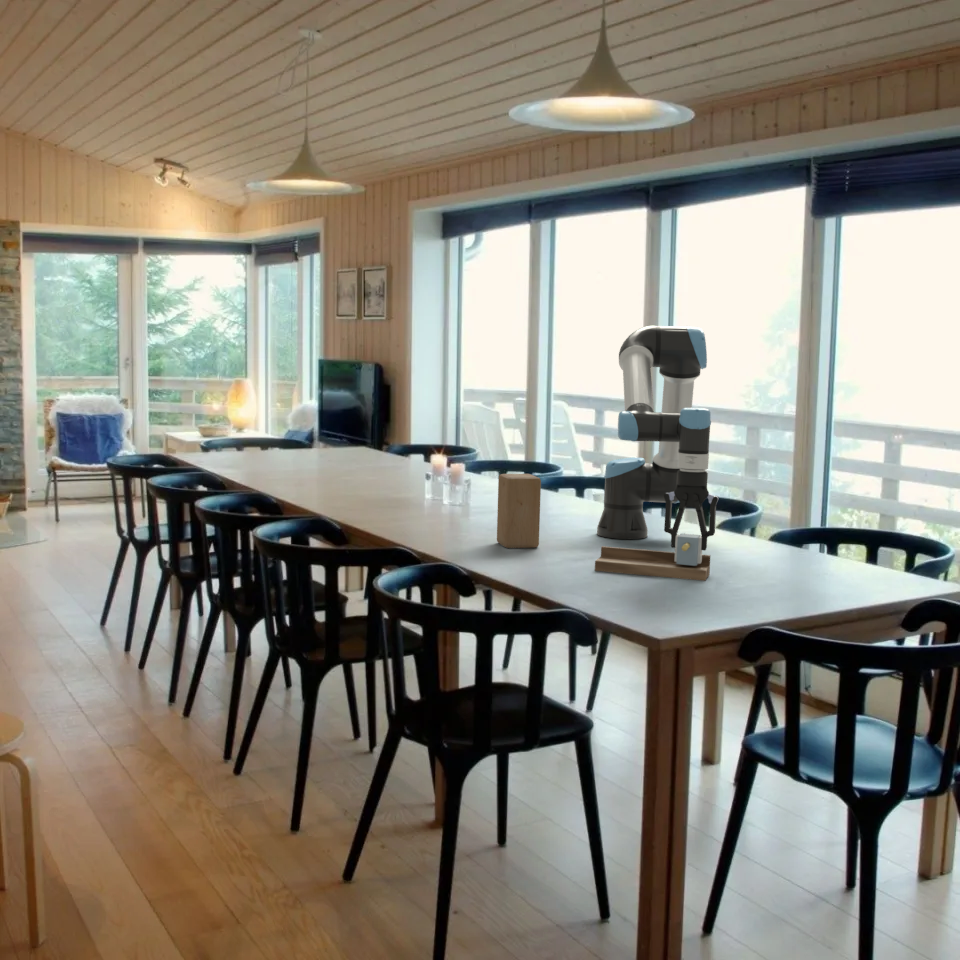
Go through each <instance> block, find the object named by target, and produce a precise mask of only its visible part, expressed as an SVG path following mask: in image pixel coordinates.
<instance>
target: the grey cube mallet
mask: <svg viewBox="0 0 960 960" xmlns="http://www.w3.org/2000/svg"><path fill="white" fill-rule="evenodd" d="M700 536H701V534H694V533H692V534H691V533H679V536H678V542H677V562H676V564H682V565H693V566H697V560H698V540H699V537H700Z"/></svg>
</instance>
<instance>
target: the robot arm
mask: <svg viewBox="0 0 960 960" xmlns="http://www.w3.org/2000/svg"><path fill="white" fill-rule="evenodd" d="M705 335H706V334H705V331H704V330H703V329H702V328H700V327H698V326H697V327H696V326H688V325H686V326H685V325H683V326H682V325H678V326H677V325H673V326H672V325H670V326H669V325H668V326H667V325H666V326H665V325H663V326H662V325H648V326H643V327H641V328H638V329H636V330H634V331H633V332H632V333H631V334H630V335H628V336H627V338H626V339H625V340H624V341H623V342H622V344H621V346H620V349H619V351H618V352H619V353H618V364H619V367H620V369H621V370H622V376H623V378H622V379H623V395H624V397H623V398H624V399H623V400H624V411H620V412H619V413H618V417H617V418H618V419H617V437H618V439H619V440H621V441H631V442H658V443H659V444H658V452H657V453H655V455H654V456H653V457H652V462H646V460H645V458H643V457H623V458H618V459H617V458H616V459H612V460H610V461H608V462H607V463H606V465H605V473H604V474H605V475H604V479H605V480H604V496H603V510H602V512H601V517H600V519H599V522H598V524H597V527H596V534H597V536H599V537H603V538H608V539H615V540H640V539H645V538H647V537H648V534H649V533H648V532H649V531H648V525H647V522H646V518H645V514H644V512H643V510H644V509H643V507H644V502H649V503H650V502H651V503H652V502H653V503H665V510H664V511H665V513H664V526H663V527H664V529H663V531H664V532H665V533H667V534H669V535H670V536H671V539H670V541H671V542H670V547H671V548H672V549H674V552H675V559H674V562H677V542H678V536H679V535H680V533H679V529H680V525H681V522H682V519H683V516H684V513H685V511H686V510H685V509H686V508H689V507H691V508H693V509H694V508H695V511H696V516H697V521H698V524H699V525H698V526H699V530H700V535H701V536H700V537H699V540H698V560H697V564H700V563H701V562H702V555H703V551H706V550H707V548H708V538H709V537H713V536H714V534H715V533H716V521H717V519H716V517H717V516H716V514H717V504H718V501H719V498H720V497H719V496H718V495H714V494H711V493H709V490H708V478H709V477H708V476H709V473H708V472H707V469H709V458H710V457H709V456H710V453H709V452H710V451H709V448H710V437H711V436H710V433H711V424H712V421H711V411H710V409H708V408H704V407H693V397H694V396H693V395H694V389H695V388H694V387H695V380H696V379H697V378H699V377H700V375H701V370H704V369H706V368H707V363H708V357H707V356H708V355H707V343H706V341H707V340H706V336H705ZM652 368H659V369H658V370H659V372H658V373H659V374H660V376H662V378H663V387H662V388H663V391H662V401H661V412H656V411H655V408H654V398H653V397H654V396H653V387H652V385H653V384H652V372H651V371H652ZM706 499H708V504H710V506H709V518H708V519H709V520H708V521H709V523H708V526H709V527H708V529H707V524H706V520H705V514H704V510H703V503H704V502H705V501H706ZM677 503H680V504H679V506H678V511H677V514H676V517H675V519H674V523H673V526H672V510H673V508H672V507H673V504H677ZM671 526H672V527H671Z"/></svg>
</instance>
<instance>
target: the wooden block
mask: <svg viewBox="0 0 960 960" xmlns="http://www.w3.org/2000/svg"><path fill="white" fill-rule="evenodd" d="M498 475H499V476H498V481H497V482H498V483H497V485H498V486H497V488H498V489H497V491H498V492H497V517H496V518H497V520H496V521H497V523H496V542H497V543H498V544H500V545H501V546H502V547H504V548H505V549H534V548H538V547H539V545H540V520H541V518H540V517H541V515H540V514H541V495H542V494H541V492H542V491H541V490H542V488H541V487H542V480H541V478H540V477H538V476H535V475H533V474H530V473H501V474H498Z"/></svg>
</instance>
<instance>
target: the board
mask: <svg viewBox="0 0 960 960" xmlns="http://www.w3.org/2000/svg"><path fill="white" fill-rule="evenodd" d="M674 559H675V551H667V550H666V551H664V550H651V549H642V548H641V549H640V548H628V547H617V546H606V545H605V546H604V545H602V546H600V557H598V558H597V559H596V560H595V561H594V571H595V572H604V573H617V574H628V575H637V576H651V577H661V578H671V579H672V578H673V579H683V580H694V581H703V582H704V581H706V580H707V579H708V578H709V576H710V571H711V554H702V562H701V563H700V564H697V566H693V565H682V564H676V562H674Z"/></svg>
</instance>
